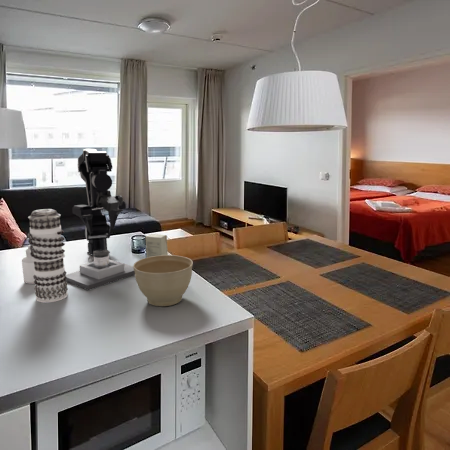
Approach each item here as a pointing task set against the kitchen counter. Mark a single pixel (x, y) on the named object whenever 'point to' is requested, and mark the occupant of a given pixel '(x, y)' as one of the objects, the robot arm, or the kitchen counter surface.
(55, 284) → the white patterned cylinder
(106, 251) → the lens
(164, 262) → the planter bowl
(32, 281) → the eye dropper bottle
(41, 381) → the kitchen counter surface
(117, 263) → the white tray on slab
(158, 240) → the skincare box
